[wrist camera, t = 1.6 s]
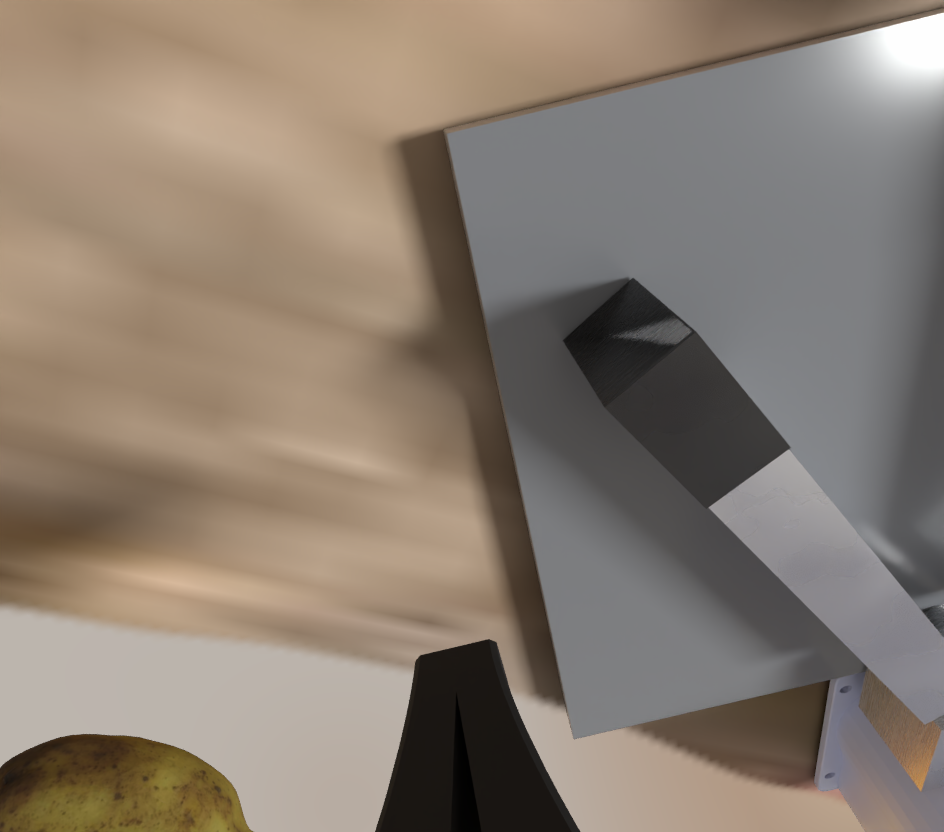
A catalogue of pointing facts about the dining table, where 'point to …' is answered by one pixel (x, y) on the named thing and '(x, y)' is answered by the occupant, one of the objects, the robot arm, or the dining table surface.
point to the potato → (115, 789)
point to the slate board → (720, 345)
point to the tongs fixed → (907, 725)
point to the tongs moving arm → (755, 485)
